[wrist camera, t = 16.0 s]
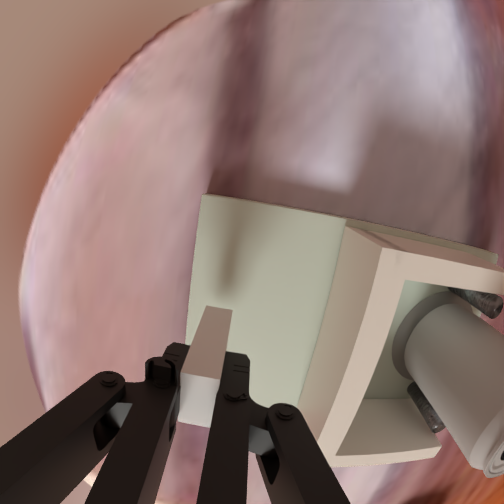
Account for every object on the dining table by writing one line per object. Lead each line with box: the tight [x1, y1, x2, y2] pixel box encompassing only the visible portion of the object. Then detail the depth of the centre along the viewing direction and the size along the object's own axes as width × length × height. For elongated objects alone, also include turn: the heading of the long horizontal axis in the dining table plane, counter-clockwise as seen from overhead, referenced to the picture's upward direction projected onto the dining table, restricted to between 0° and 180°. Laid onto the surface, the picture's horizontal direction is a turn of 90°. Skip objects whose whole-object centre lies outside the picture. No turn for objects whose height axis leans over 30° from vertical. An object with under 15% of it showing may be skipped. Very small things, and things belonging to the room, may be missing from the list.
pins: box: [407, 286, 503, 433], centre depth 17 cm, size 1×10×5 cm, turn 171°
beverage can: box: [404, 304, 504, 478], centre depth 14 cm, size 6×6×12 cm
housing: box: [297, 226, 504, 467], centre depth 17 cm, size 10×14×6 cm
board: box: [185, 193, 498, 408], centre depth 20 cm, size 22×14×2 cm, turn 81°
